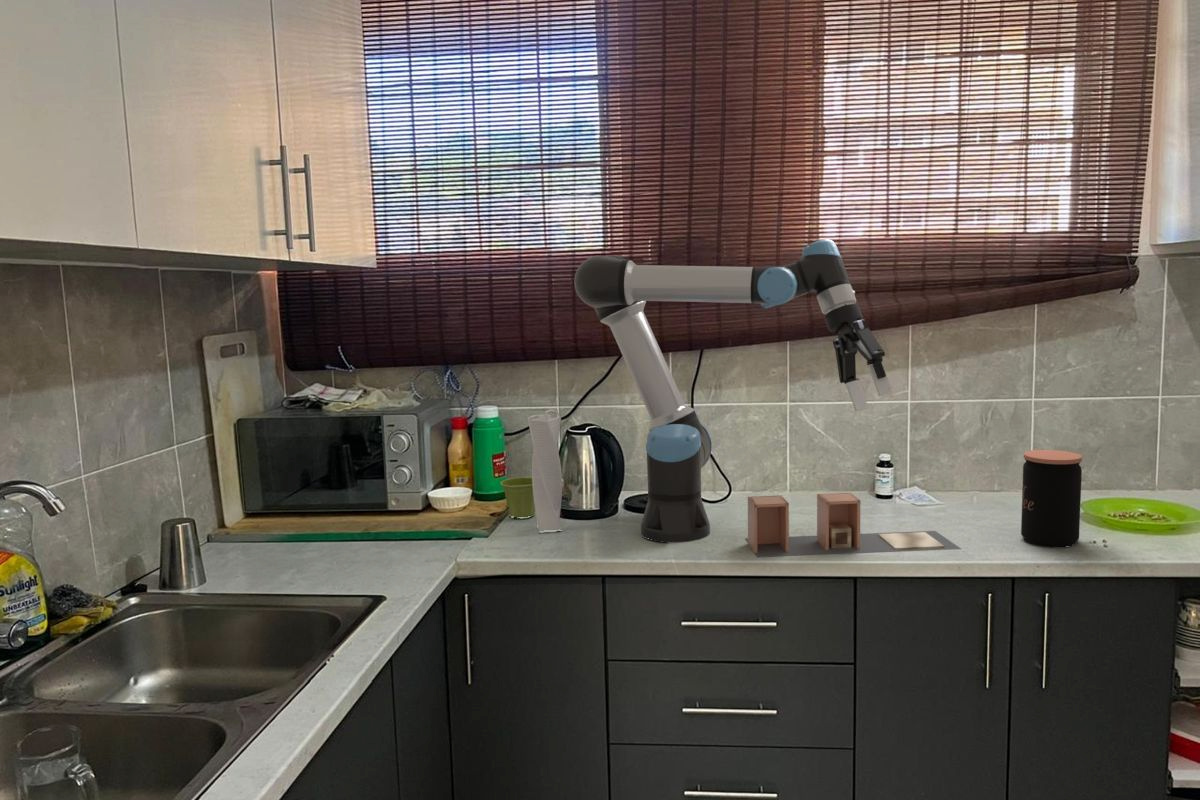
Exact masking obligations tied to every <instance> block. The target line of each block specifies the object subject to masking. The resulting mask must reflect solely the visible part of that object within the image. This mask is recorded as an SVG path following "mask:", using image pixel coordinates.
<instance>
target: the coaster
mask: <svg viewBox="0 0 1200 800" xmlns="http://www.w3.org/2000/svg"><path fill="white" fill-rule="evenodd" d="M914 532H915V533H892V532H889V533H890V534H878V536H879V537H880V538H881V539H883V540H884V541H885V542H886V543H887V544H889V545H890V546H891V547H892V548H893V549H895V550H905V549H929V548H944V547H945V546H944V545H942V544H941V543H940V542H938V541H937V540H935V539H934V538H933V537H931V536H930V535H928V534H927V533H925V532H917V531H914Z"/></svg>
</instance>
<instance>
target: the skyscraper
mask: <svg viewBox="0 0 1200 800" xmlns="http://www.w3.org/2000/svg"><path fill="white" fill-rule="evenodd" d="M551 412H553V413H555V414H556V415H557V416H558V417H552V414H548V413H551ZM532 418H533V419H532ZM527 422H528V426H529V427H528V428H529V433H530V436H531V437H530V438H531V442H532V447H533V449H532V450H533V452H532V459H531V460H532V461H531V478H532V487H533V497H534V505H535V517H536V525H538V529H537V531H538V530H539V531H544V530H559V529H560V530H562V527H561V524H560V518H561V517H560V516H561V510H562V509H561V508H562V495H563V493H562V492H563V474H562V471H563V470H562V464H561V458H560V455H559V451H558V442H559V438H560V437H559V436H560V431H561V429H560V428H561V422H562V417H561V415H560V413H559V412H558V411H557V410H556V409H547V410H546V411H545V412H544V414H540V413H539V414H538V413H537V414H533V415H530V416H529V417H528V418H527ZM539 531H538V532H539ZM562 531H563V530H562Z"/></svg>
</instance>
